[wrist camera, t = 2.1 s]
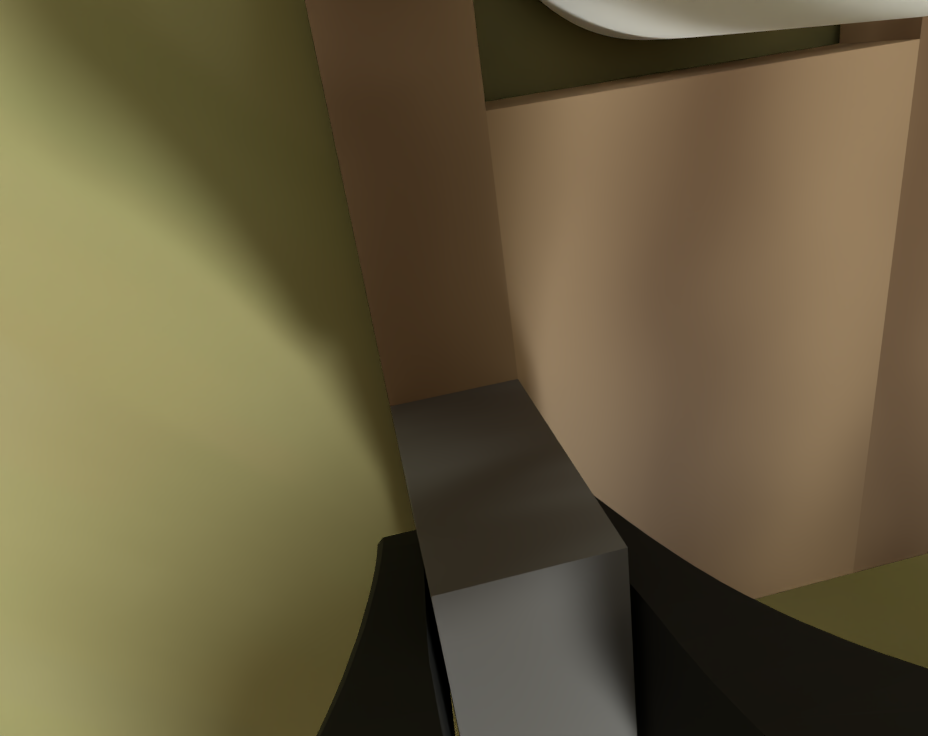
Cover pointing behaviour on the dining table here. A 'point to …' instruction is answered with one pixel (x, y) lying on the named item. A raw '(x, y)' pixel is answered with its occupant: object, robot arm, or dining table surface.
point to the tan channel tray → (634, 332)
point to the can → (723, 15)
